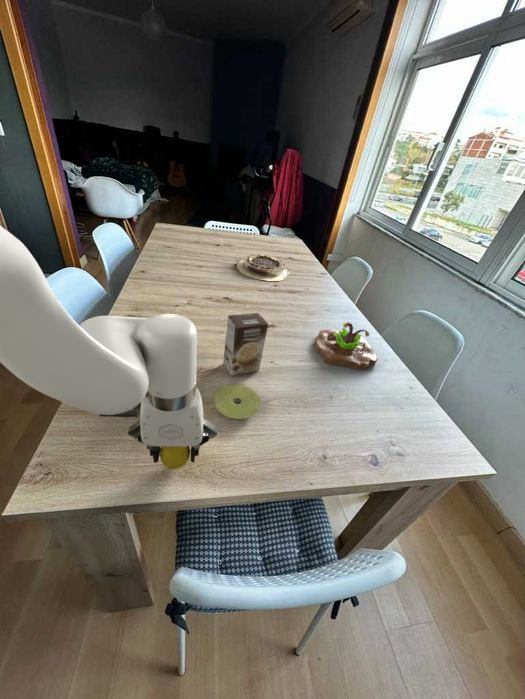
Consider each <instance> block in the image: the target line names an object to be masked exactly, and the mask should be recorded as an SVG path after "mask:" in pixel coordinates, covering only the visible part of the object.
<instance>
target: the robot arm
mask: <svg viewBox="0 0 525 699" xmlns="http://www.w3.org/2000/svg"><path fill="white" fill-rule="evenodd" d="M125 316H126V315H97V316H93V317H90V318H88V319H86V320H84V321H82V322H81V323H80V324H78V323H77V322H76V320H75V319H74V318H73V317H72V316H71V315H70V314H69V312H68V311H67V309H65V307H64V306H63V305H62V303H61V301H60V300H59V299H58V297H57V296H56V294H55V292H54V291H53V289H52V287H51V285H50V283H49V282H48V280H47V278H46V276H45V274H44V272H43V270H42V268H41V267H40V265H39V263H38V262H37V260H36V259H35V257H34V255H32V253H31V252H30V250H29V249H28V248H27V246H26V245H25V244H24V243H23V242H22V241H21V240H20V239H19V238H17V237H16V236H15V235H14V234H12V233H11V232H10V231H8V230H7V229H5V228H4V227H3V226H2V225H0V364H1V365H3V367H5V369H7V370H8V371H9V372H10V373H11V374H12V375H14V376H15V377H16V378H18V379H19V380H20V381H22V382H23V383H25V384H26V385H27V386H29V387H31V388H32V389H34V390H35V391H36V392H37V391H38V392H39V393H41V394H42V395H45V396H47V397H49V398H52V399H54V400H57V401H59V402H61V403H63V404H66V405H68V406H71V407H73V408H76V409H77V410H81V411H83V412H86V413H91V414H95V415H99V414H102V415H114V414H120V413H124V412H127V411H129V410H134V407H136V406H137V405H138V404H139V403H140V402H141V408H139V410H140V411H139V412H140V413H139V420H138V421H136V422H134V423H133V424H132V425H130V426H129V427H128V429H127V435H128V436H129V437H132V438H134V439H136V440H137V441H138V443H141V444H143V445H145V446H146V449H147V450H149V456H150V457H152V459H153V463H155V464H156V463H158V462H159V459H160V449H161V446H190V462H191V463H195V461H196V457H199V455H200V449H201V446H203V445H205V444H207V443H208V442H209V441H210V440H211V439H213V438H215V437H217V436H218V435H219V428H218V427H217V426H216V425H214V424H213V423H211V422H210V421H208V420H207V419H205V418H204V407H203V400H202V396H201V392H200V390H199V389H198V387H197V367H198V366H197V362H198V359H197V358H198V357H197V356H198V332H197V329H196V326H195V324H194V323H193V322H192V320H190V319H189V318H187V317H185V316H183V315H180V314H176V313H161V314H160V313H159V314H156V315H153V316H151V318H142V317H143V316H137V317H125Z"/></svg>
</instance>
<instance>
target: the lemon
mask: <svg viewBox="0 0 525 699" xmlns="http://www.w3.org/2000/svg"><path fill="white" fill-rule="evenodd" d="M160 447H161V449H160V455H159V459H160V462H161V463H162V464H163V466H164V467H165V468H167V469H169V470H178V469H181V468H183V467H184V466H185V465H186V464H187V463H188V461H189V460H190V457H191V446H160Z"/></svg>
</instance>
